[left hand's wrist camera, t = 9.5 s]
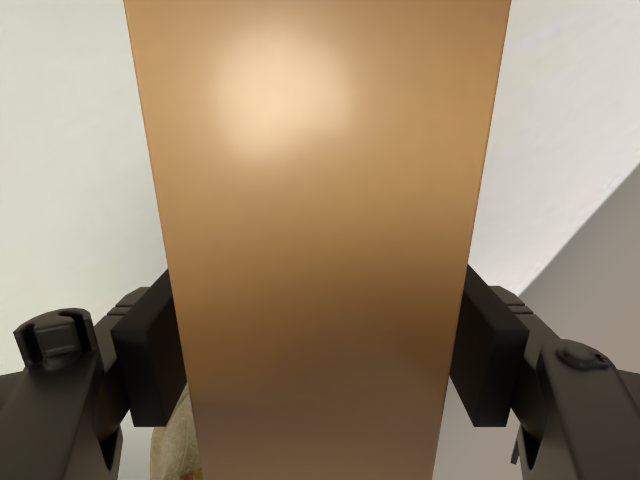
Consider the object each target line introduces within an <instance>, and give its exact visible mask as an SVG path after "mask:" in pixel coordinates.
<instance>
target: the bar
mask: <svg viewBox="0 0 640 480" xmlns="http://www.w3.org/2000/svg"><path fill="white" fill-rule="evenodd" d="M123 1H124V7H125V13H126V19H127V25H128V31H129V37H130V43H131V49H132V55H133V61H134V67H135V73H136V79H137V85H138V91H139V96H140V102H141V108H142V114H143V120H144V126H145V132H146V138H147V144H148V150H149V156H150V162H151V168H152V174H153V180H154V186H155V192H156V198H157V204H158V210H159V216H160V222H161V228H162V234H163V240H164V246H165V252H166V258H167V263H168V269H169V275H170V281H171V287H172V293H173V299H174V305H175V311H176V317H177V323H178V329H179V335H180V341H181V347H182V353H183V359H184V365H185V371H186V377H187V383H188V389H189V395H190V401H191V407H192V413H193V419H194V425H195V431H196V436H197V442H198V448H199V454H200V460H201V466H202V472H203V478H204V480H432V475H433V469H434V463H435V457H436V451H437V445H438V439H439V433H440V427H441V421H442V415H443V409H444V403H445V397H446V391H447V385H448V379H449V373H450V367H451V361H452V355H453V349H454V342H455V336H456V330H457V324H458V318H459V312H460V306H461V300H462V294H463V288H464V282H465V276H466V270H467V264H468V258H469V252H470V246H471V240H472V234H473V228H474V222H475V216H476V210H477V204H478V198H479V192H480V186H481V180H482V173H483V167H484V161H485V155H486V149H487V143H488V137H489V131H490V125H491V119H492V113H493V107H494V101H495V95H496V89H497V83H498V77H499V71H500V65H501V59H502V53H503V47H504V41H505V35H506V29H507V23H508V17H509V10H510V4H511V0H123Z"/></svg>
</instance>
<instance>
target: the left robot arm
mask: <svg viewBox="0 0 640 480" xmlns="http://www.w3.org/2000/svg"><path fill="white" fill-rule="evenodd" d="M13 334H14V336H15V339H16V342H17V344H18V347H19V350H20V353H21V355H22V358H23V361H24V363H25V368H24V370H23V371H21V372H16V373H11V374H6V375H1V376H0V480H117V478H118V471H119V464H120V457H121V450H122V443H123V436H122V430H121V427H120V423H121V421H122V420H123V418H124V417H125V415H126V413H127V412H128V410H129V409H130V412H131V416H132V420H133V424H134V427H166V426H167V424H168V421H169V419H170V417H171V415H172V413H173V411H174V409H175V407H176V405H177V403H178V401H179V398H180V396H181V394H182V392H183V390H184V388H185V386H186V384H187V377H186V371H185V365H184V359H183V353H182V347H181V341H180V335H179V329H178V323H177V317H176V311H175V305H174V299H173V293H172V287H171V281H170V275H169V269H167V270H166V271H165V272H164V273H163V274H162V275H161V276H160V277H159V278H158V280H157V281H156V282H155V283H154V284H153V285H152V286H151V287H140V288H138V289H136V290H135V291H133V292H131V293H129V294H127V295H126V296H125V297H123V298H122V299H121V300H120V301H119V302H118V303H117V304H116V305H115V307H113V308H112V309H111V310H110V311H109V312H108V313H107V316H104V317H103V318H102V319H101V320H100V321H99V322H98V323H97V324H96V325H95V326H93V323H92V319H91V315H90V313H89V312H88V311H86V310H85V309H79V308H67V309H59V310H55V311H51V312H47V313H44V314H42V315H39V316H37V317H34V318H32V319H30V320H28V321H27V322H25V323H23V324H22V325H20V326H19V327H18V328H17V329H16V330H15V331H14V332H13ZM449 376H450V378H451V380H452V382H453V384H454V386H455V388H456V390H457V392H458V394H459V396H460V398H461V401H462V403H463V405H464V407H465V409H466V411H467V413H468V415H469V417H470V419H471V421H472V423H473V426H474V427H506V424H507V420H508V416H509V412H510V408H512V410H513V412H514V413H515V415H516V416H517V418H518V419H519V421H520V427H519V430H518V434H517V438H516V441H515V445H514V449H513V453H512V457H511V463H513V464H516V463H517V459H518V456H520V463H521V470H522V477H523V480H640V374H638V373H632V372H627V371H622V370H618V369H616V367H615V365H614V364H613V363H612V362H611V361H610V360H609V359H608V357H606V356H605V355H603V354H602V353H600V352H599V351H597V350H596V349H594V348H591V347H589V346H587V345H585V344H582V343H579V342H575V341H572V340H566V339H560V338H559V337H558V336H557V335H556V334H555V333H554V332H553V331H552V330H551V329H550V328H549V327H548V326H547V325H546V324H545V323H544V322H543V321H542V320H541V319H540V318H539V317H538V316H537V315H535V314H533V311H531V310H530V309H529V308H528V307H527V306H525V304H524V303H523V302H522V301H521V300H520V299H519V298H518V297H517V296H516V295H515V294H513V293H511V292H510V291H508V290H506V289H504V288H502V287H501V286H488V285H487V284H486V283H485V282H484V281H483V280H482V278H481V277H480V276H479V275H478V274H477V273H476V272H475V271H474V270H473V269H472V268H471V267H470V266H469V265H468V264H467V270H466V276H465V282H464V288H463V294H462V300H461V306H460V312H459V318H458V324H457V330H456V336H455V342H454V349H453V355H452V361H451V367H450V373H449Z"/></svg>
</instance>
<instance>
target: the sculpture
mask: <svg viewBox="0 0 640 480" xmlns="http://www.w3.org/2000/svg"><path fill="white" fill-rule="evenodd" d="M150 478H151V480H204V478H203V472H202V466H201V460H200V454H199V448H198V442H197V436H196V431H195V425H194V419H193V413H192V407H191V401H190V395H189V389H188V383H187V384H186V386H185V388H184V390H183V392H182V394H181V396H180V398H179V401H178V403H177V405H176V407H175V409H174V411H173V413H172V415H171V417H170V419H169V421H168V424H167V426H166V427H155V428H154V430H153V433H152V440H151V455H150Z"/></svg>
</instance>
